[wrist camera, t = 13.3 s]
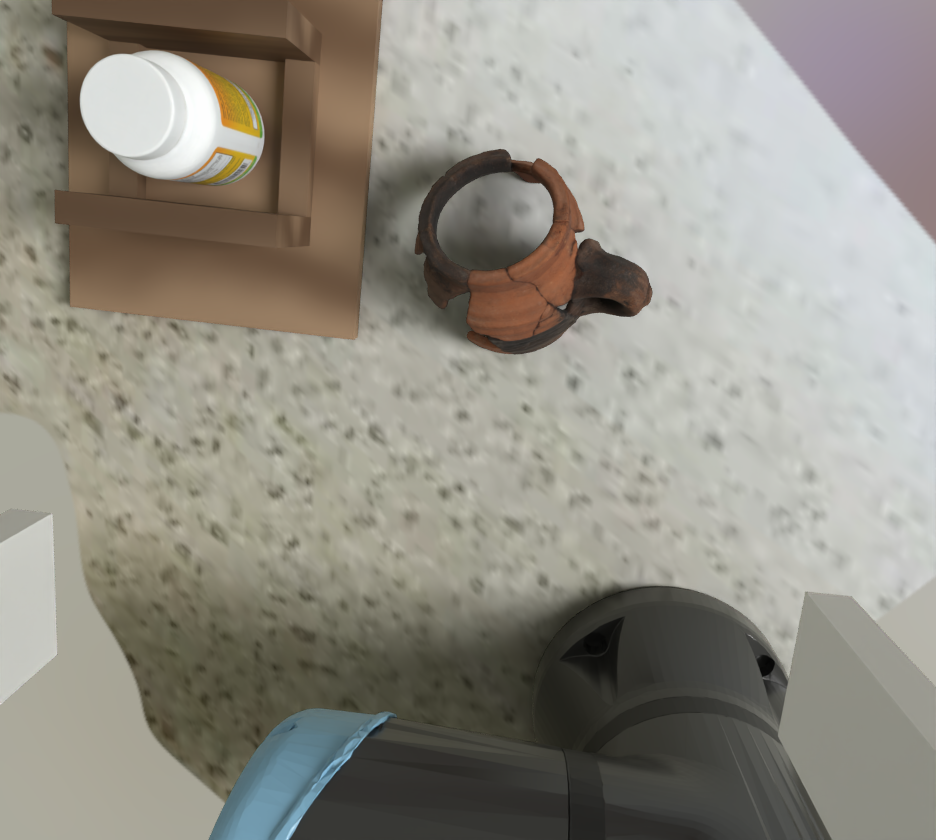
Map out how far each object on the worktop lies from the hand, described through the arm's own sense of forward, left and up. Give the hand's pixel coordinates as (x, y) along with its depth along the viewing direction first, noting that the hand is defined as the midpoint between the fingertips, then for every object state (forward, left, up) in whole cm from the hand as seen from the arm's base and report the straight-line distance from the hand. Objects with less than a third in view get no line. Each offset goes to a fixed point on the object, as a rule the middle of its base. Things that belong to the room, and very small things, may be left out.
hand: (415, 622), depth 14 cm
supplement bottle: (+10, +15, -31) cm, 36 cm away
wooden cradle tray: (+10, +15, -31) cm, 36 cm away
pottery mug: (+5, -2, -32) cm, 32 cm away
